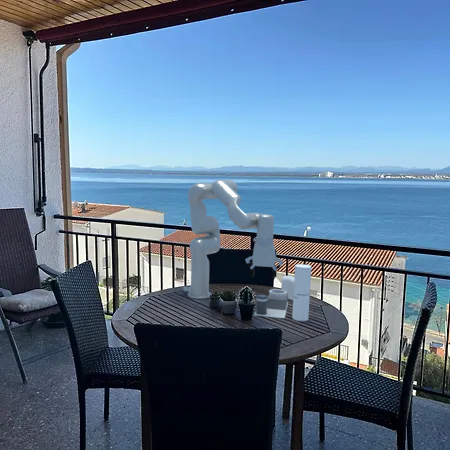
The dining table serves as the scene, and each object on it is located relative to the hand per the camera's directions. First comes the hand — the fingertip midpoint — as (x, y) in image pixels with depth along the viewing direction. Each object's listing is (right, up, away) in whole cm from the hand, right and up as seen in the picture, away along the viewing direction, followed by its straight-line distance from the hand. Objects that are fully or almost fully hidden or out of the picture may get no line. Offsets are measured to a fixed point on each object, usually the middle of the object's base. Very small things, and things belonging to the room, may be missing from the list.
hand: (263, 277), depth 196 cm
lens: (-1, -17, +2) cm, 17 cm away
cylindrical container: (+16, -19, -4) cm, 25 cm away
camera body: (+8, -16, +15) cm, 23 cm away
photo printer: (+17, -15, +30) cm, 37 cm away
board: (+5, -17, +10) cm, 20 cm away
